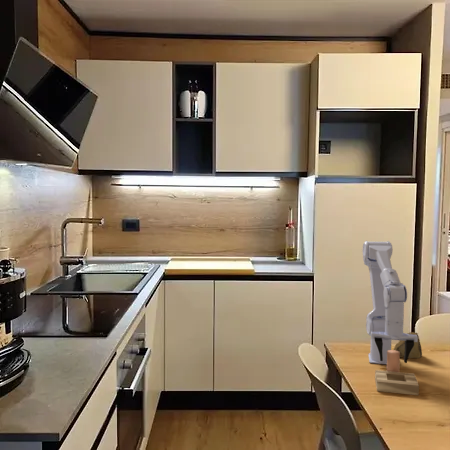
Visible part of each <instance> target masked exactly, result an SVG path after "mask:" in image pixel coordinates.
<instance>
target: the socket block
mask: <svg viewBox="0 0 450 450" xmlns="http://www.w3.org/2000/svg"><path fill="white" fill-rule="evenodd" d="M374 381H375V387H376V392H382V393H393V394H402V395H414V396H420V395H419V392H420V391H419V390H420V385H419V382H418V380H417V377H416V375H415V373H412V372H411V373H410V372H401V371H399V372H391V371H387V370H380V369H379V370H378V369H375V371H374Z"/></svg>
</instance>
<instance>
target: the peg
mask: <svg viewBox="0 0 450 450" xmlns="http://www.w3.org/2000/svg"><path fill="white" fill-rule="evenodd" d="M400 359H401V357H400V352H399V351H396V350H394V349H391V350H388V351H387V364H386V371H391V372H400V365H401V364H400V361H401V360H400Z"/></svg>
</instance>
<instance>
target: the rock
mask: <svg viewBox="0 0 450 450" xmlns="http://www.w3.org/2000/svg"><path fill="white" fill-rule="evenodd" d="M406 334H413V335H417V336H418V341H417V342H414V347H413V348H412V350H411V352H410V354H409V357H408V359H420V358H422V357H423V353H422V351H423V350H422V345H421V340H420V337H419V335H418V334H419V333H418V332H415V331H412V332H411V331H410V332H407V333H406ZM393 350H396V351H399V352H400V358H404V353H405V341H403V340H398V342H397V343H396V344H395V346H394V348H393Z"/></svg>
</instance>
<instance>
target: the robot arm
mask: <svg viewBox="0 0 450 450" xmlns="http://www.w3.org/2000/svg"><path fill="white" fill-rule="evenodd" d="M392 256H393V244H392V242H391V241H389V240H388V241H368V240H365V241H364V242H363V245H362V259H363V264H364V265H365V266H367V267H368V271H369V281H370V288H371V289H370V291H371V299H372V310H371V311H369V312H368V313H367V315H366V319H365V320H366V323H365V328H366V332H367V335H368V336H370V352H369V353H368V361H369V363H370V364H377V365H378V364H380V365H387V351H388V350H392V340H393V341H400V340H403V341H405V353H404V357H403V361H404V364H408V360H409V358H408V357H409V354H410V352H411V350H412V348H413V347H414V342H417V341H418V336H419V335H418V336H417V335H413V334H407V333H406V332H404V320H405V319H404V314H405V303H406V302H407V301H408V290H407V287H406V285H405V284H404V283H403V282H401V280H400V277H399V275H398V272H397V270H396V269H394V268H393V267H392V262H391V258H392Z"/></svg>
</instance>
